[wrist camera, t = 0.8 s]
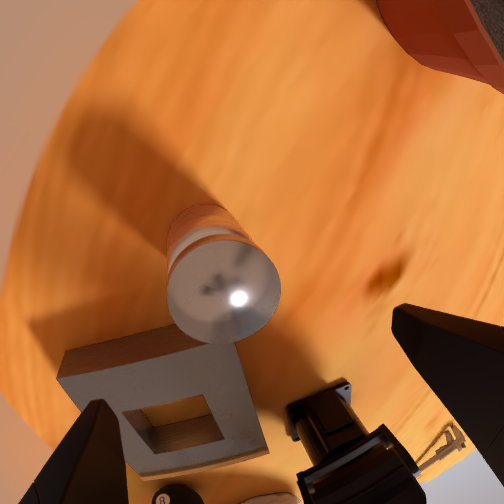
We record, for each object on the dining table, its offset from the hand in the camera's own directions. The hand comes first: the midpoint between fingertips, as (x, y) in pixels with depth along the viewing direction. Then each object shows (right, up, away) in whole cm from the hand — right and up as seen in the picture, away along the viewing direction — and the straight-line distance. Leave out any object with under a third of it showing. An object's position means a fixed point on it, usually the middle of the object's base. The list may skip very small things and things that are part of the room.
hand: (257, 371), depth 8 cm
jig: (-6, -8, +14) cm, 18 cm away
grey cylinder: (-3, +4, +10) cm, 11 cm away
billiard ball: (-9, -24, +19) cm, 33 cm away
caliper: (+36, -40, +38) cm, 66 cm away
